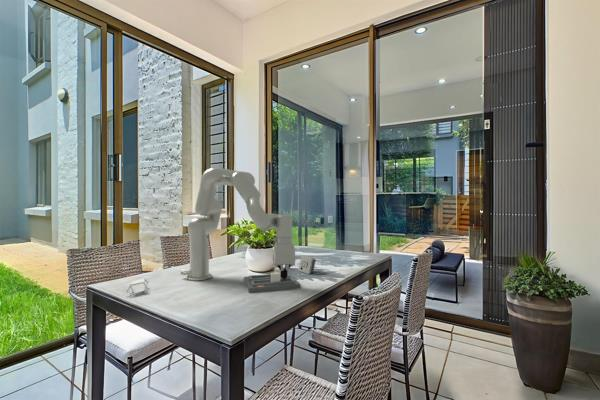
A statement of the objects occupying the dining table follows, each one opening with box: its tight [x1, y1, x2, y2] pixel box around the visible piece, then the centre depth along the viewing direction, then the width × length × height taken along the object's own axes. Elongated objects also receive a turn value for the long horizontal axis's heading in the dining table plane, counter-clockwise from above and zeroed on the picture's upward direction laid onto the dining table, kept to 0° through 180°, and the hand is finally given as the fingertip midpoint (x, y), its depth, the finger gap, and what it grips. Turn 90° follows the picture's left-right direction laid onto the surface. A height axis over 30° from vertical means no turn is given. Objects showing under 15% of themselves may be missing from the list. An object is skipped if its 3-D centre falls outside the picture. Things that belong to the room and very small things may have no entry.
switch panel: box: [243, 272, 301, 294], centre depth 151 cm, size 24×20×3 cm
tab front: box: [270, 271, 280, 282], centre depth 147 cm, size 4×3×4 cm
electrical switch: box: [298, 254, 317, 275], centre depth 175 cm, size 9×5×9 cm, turn 41°
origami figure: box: [126, 278, 149, 294], centre depth 139 cm, size 12×8×5 cm
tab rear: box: [274, 267, 285, 276], centre depth 157 cm, size 4×3×4 cm
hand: (284, 278), depth 148 cm, fingers closed
